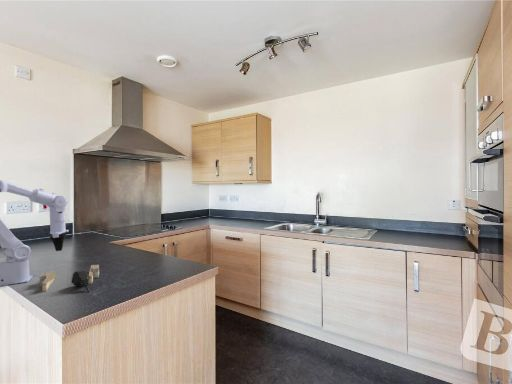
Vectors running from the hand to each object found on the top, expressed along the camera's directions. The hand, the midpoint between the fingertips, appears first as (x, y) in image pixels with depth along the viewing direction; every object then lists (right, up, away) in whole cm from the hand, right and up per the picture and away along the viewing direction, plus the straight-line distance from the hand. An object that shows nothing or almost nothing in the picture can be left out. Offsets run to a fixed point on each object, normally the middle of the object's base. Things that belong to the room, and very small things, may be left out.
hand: (58, 250), depth 126 cm
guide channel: (+15, -10, -13) cm, 22 cm away
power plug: (+26, -10, -22) cm, 35 cm away
